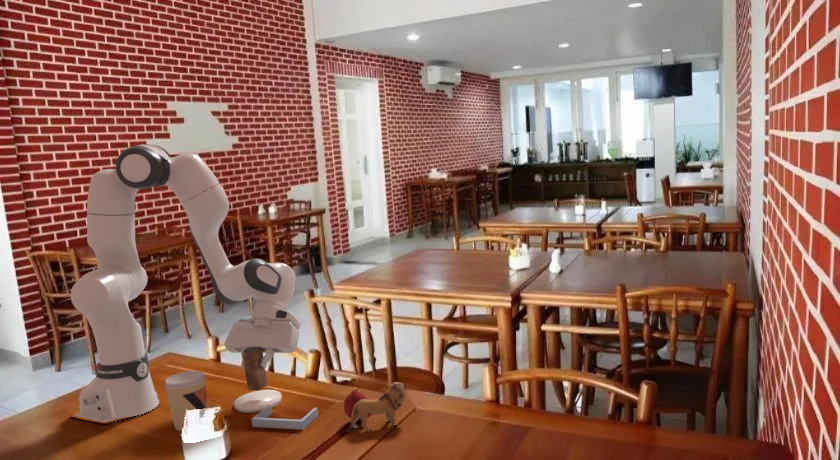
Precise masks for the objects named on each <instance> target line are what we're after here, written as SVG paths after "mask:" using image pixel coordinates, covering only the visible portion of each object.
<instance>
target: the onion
mask: <svg viewBox="0 0 840 460" xmlns="http://www.w3.org/2000/svg"><path fill="white" fill-rule="evenodd" d="M358 389H359V388H357V387H353V389H351V392H350V393H349V394H348V395H347V396H346V398H345V400H344V403H343V411H344V413H345V414H346V416H347V417H348V418H349V419H351V416H352V410H353V407H354V405H355V404H356V403H357V402H358V401H360V400H363V399H368V398H367V396H366V395H365V394H364V393H363V392H360V391H359V390H358ZM355 414H356V410H355ZM354 416H355V415H354ZM360 421H362V419H361V417H360V418H359V419H358V420H357V421H356V422H360Z"/></svg>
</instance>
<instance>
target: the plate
mask: <svg viewBox="0 0 840 460" xmlns="http://www.w3.org/2000/svg"><path fill="white" fill-rule="evenodd" d="M282 400H283V395H282V393H281V392H280V391H279V390H275V389H261V390H253V391H251V392H248V393H245V394H242V395H240V396H238V397H237V398H236V399H235V400H234V401H233V405H234V409H235V411H237V412H239V413H244V414H245V413H246V414H248V413H250V414H251V413H258V412H259V413H260V412H261V411H262V410H263V409H265V408H266V407H267V406H271V408H275V407H276V406H278V405H279V404H280V403H281V402H282Z"/></svg>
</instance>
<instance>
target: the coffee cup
mask: <svg viewBox="0 0 840 460" xmlns="http://www.w3.org/2000/svg"><path fill="white" fill-rule="evenodd" d="M206 386H207V385H206V375H205V373H204V372H203V371H200V370H186V371H183V372H179V373H175V374H172V375H170V376H168V377H167V378H166V379H165V382H164V387H165V391H166V397H167V400H168V404H169V408H170V414H171V417H172V422H173V426H174V428H175V430H176V431H181V429H182V427H183V421H184V417H185V413H186V409H187V410H193V409H203V408H207V409H208V402H207V401H208V400H207V387H206Z"/></svg>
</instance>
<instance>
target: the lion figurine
mask: <svg viewBox="0 0 840 460" xmlns="http://www.w3.org/2000/svg"><path fill="white" fill-rule="evenodd" d="M406 394H407V390H406V388H405V384H404V383H402V382H399V381H395V382H393V383H391V384H389V389H387V390H386V391H385V392H384V393H383V394H382V395H381V397H379V398H374V399H369V398H367V399H363V400H360V401H358V402H357V403H356V404H355V405H354V407H353V410H352V416H351V418H350V424H349V427H348V429H347V430H346V432H347V433H348V432H351V431H352V430H353V429H357V428H359V424H356V423H357V422H358V421H357V420H358V419H359V418H360V417H361V426H362V427H363V429H364V430H365V431H366V432H371V431H372V427H369V426H367V421H368V417H369V414H371V415H374V416H380V415H385V420H390V422H389V423H390V424H391V425H392V424H396V423H395V422H396V421H395V419H396V411H399V410H401V408H402V407H403V405H404V404H403V403H404V402H405V400H406ZM355 410H356V414H355ZM354 415H355V416H354ZM352 428H353V429H352ZM370 430H371V431H370Z"/></svg>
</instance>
